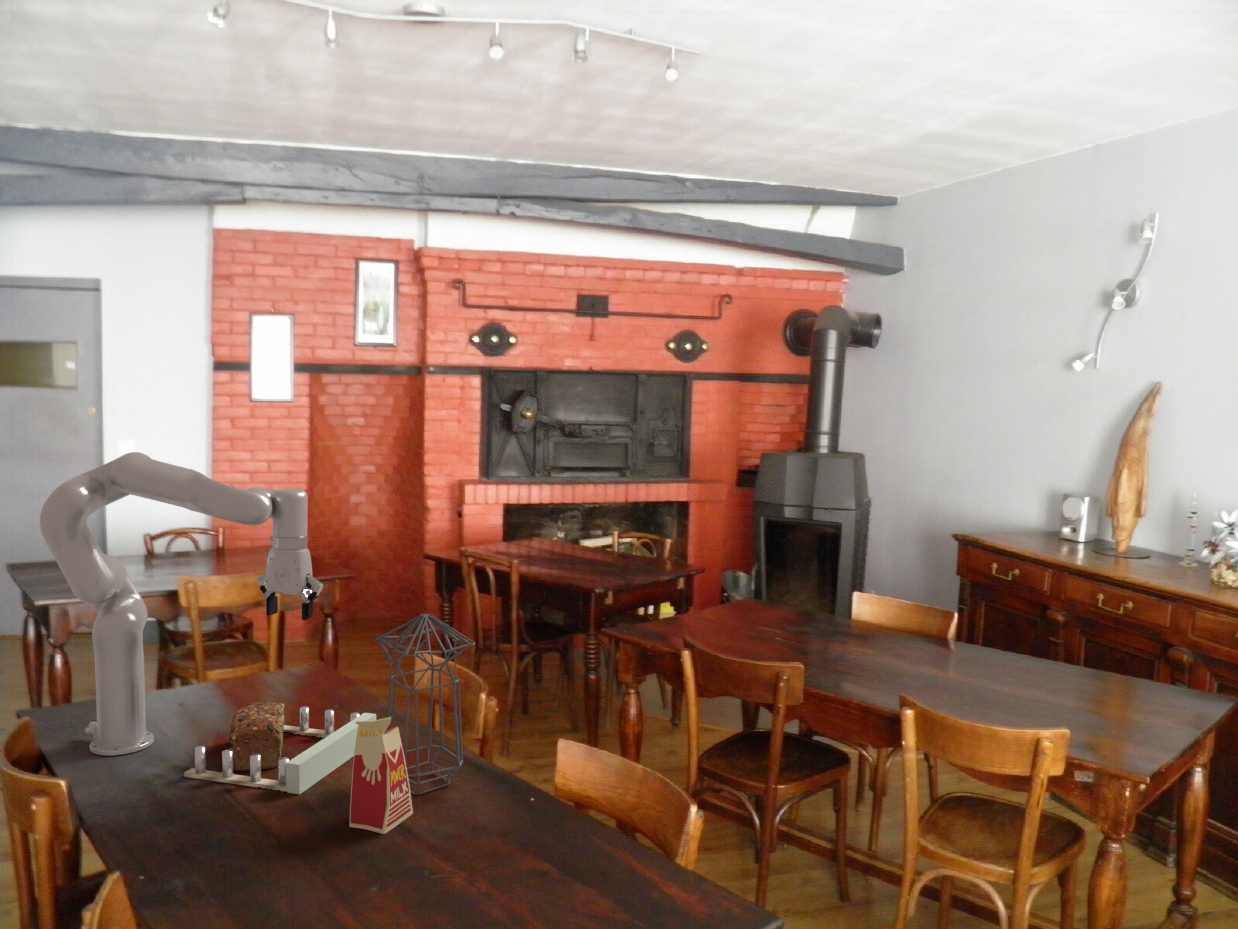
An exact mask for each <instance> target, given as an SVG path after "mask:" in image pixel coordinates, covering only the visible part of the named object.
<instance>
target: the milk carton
mask: <svg viewBox="0 0 1238 929" xmlns="http://www.w3.org/2000/svg"><path fill="white" fill-rule="evenodd" d="M391 717H392V716H390V717H388V718H387V717H384V718H380V719H376V720H375V721H356V722H355V723H357V724H358V725H359V726H358V731H357V737H356V743H355V752H354V756H353V762H352V773H351V787H350V800H349V804H350V805H349V824H348V825H349V828H356V829H360V830H361V829H362V830H368V831H371V832H375V833H377V834H378V833H379V834H381V835H385V834H387V833H388V832H390V831H391V830H392V829H394V828H395V827H397V826H398V825H400V824H401V823H403V822H404V821H405V820H407V819H408V818H409V817H410V816H412V815H413V814H414V809H413V802H412V793H411V792H410V790H411V786H410V781H409V779H410V778H409V779H408V775H409V773H408V770H407V768H408V767H407V761H406V762H405V756H404V752H403V751H404V746H403V743H402V738H401V734H400V728H399V726H398V725H395V724H394V725H393V724H391Z"/></svg>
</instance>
